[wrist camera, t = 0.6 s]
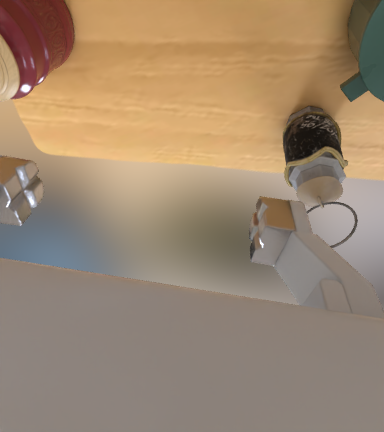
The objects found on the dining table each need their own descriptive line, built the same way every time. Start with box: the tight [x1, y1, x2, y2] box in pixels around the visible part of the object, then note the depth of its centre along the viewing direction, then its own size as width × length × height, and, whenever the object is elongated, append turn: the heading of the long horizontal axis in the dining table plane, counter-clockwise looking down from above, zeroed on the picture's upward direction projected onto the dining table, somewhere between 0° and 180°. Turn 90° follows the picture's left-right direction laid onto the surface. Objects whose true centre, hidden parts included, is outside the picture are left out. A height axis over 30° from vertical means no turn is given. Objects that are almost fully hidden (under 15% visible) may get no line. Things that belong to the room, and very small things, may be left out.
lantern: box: [283, 106, 358, 248], centre depth 39 cm, size 9×8×25 cm
